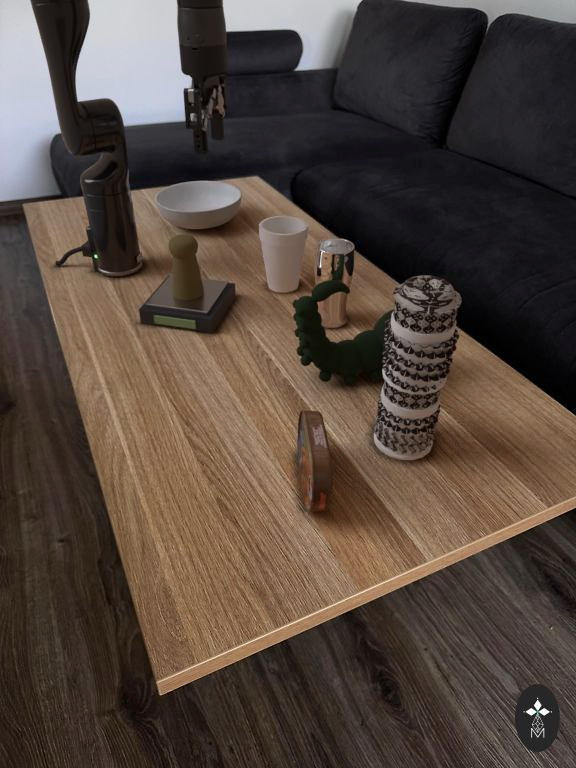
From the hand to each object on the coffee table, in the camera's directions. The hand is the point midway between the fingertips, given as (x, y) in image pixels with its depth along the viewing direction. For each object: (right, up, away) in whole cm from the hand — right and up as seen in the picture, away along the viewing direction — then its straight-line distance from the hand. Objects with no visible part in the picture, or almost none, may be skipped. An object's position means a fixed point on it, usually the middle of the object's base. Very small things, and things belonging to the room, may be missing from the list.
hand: (210, 146), depth 103 cm
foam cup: (+13, -21, +19) cm, 31 cm away
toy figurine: (+27, -40, -5) cm, 48 cm away
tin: (+17, -55, -24) cm, 62 cm away
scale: (-5, -27, +11) cm, 30 cm away
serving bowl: (-8, -1, +45) cm, 46 cm away
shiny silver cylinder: (+22, -30, +8) cm, 38 cm away
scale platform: (-5, -25, +9) cm, 27 cm away
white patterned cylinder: (+30, -50, -18) cm, 61 cm away
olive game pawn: (-5, -24, +9) cm, 26 cm away
